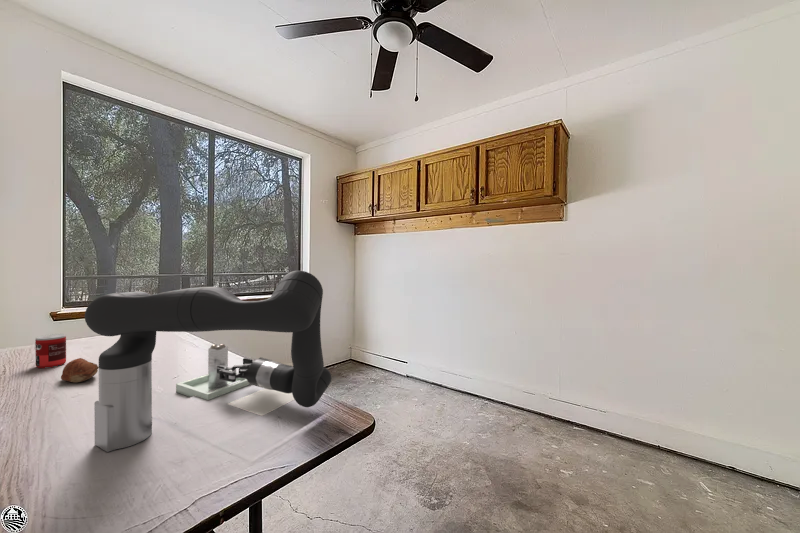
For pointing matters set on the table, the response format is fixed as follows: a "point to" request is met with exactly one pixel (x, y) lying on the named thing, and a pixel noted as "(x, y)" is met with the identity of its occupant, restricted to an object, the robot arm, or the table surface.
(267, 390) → the board
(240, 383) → the tray
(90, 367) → the bread roll
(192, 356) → the table surface
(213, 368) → the cup
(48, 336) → the canned food
